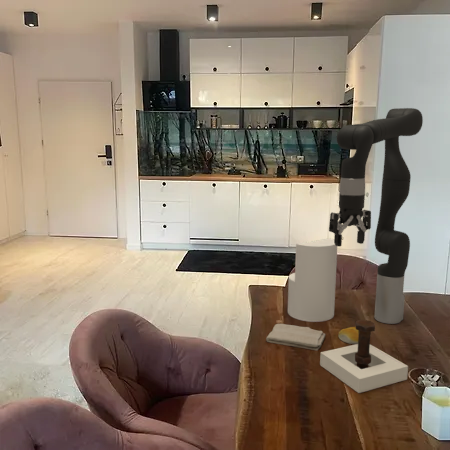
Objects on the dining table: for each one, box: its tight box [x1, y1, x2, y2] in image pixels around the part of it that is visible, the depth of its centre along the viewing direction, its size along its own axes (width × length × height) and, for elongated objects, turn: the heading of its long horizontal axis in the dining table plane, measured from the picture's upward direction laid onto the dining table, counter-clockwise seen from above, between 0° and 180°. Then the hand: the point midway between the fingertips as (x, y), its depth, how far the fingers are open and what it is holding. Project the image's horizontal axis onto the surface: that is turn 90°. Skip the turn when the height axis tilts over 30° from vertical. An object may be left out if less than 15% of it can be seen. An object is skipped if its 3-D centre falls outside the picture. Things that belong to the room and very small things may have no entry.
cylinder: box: [287, 237, 338, 323], centre depth 179 cm, size 17×17×28 cm
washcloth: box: [265, 323, 326, 352], centre depth 158 cm, size 12×18×3 cm, turn 69°
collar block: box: [319, 344, 409, 394], centre depth 137 cm, size 17×17×4 cm
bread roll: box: [338, 326, 359, 345], centre depth 159 cm, size 8×9×4 cm
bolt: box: [354, 319, 376, 369], centre depth 135 cm, size 6×5×15 cm
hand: (349, 244), depth 149 cm, fingers open, 8 cm apart
